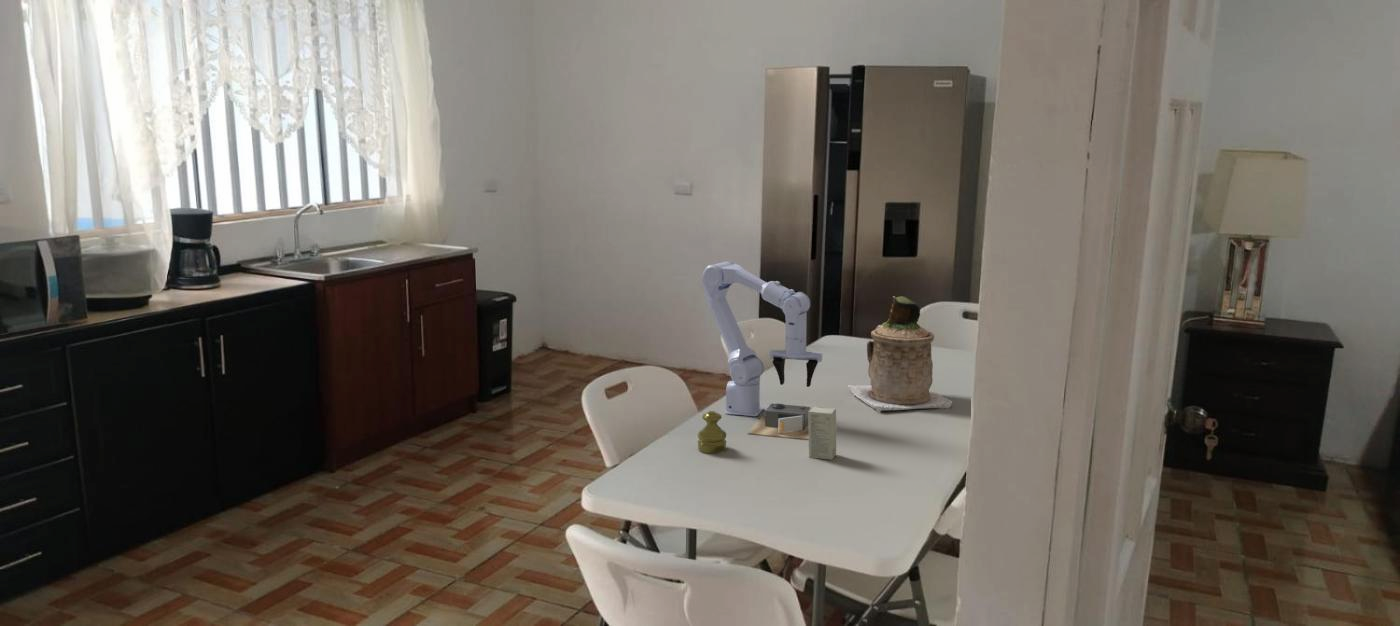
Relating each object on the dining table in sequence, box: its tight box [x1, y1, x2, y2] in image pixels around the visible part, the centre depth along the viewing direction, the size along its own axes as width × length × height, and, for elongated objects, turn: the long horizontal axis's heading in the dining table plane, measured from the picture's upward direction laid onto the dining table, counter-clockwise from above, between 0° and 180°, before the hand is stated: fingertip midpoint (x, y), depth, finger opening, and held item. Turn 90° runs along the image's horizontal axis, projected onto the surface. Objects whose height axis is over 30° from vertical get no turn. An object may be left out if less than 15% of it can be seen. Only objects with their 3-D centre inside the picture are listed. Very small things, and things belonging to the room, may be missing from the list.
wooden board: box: [747, 415, 809, 441], centre depth 265 cm, size 18×16×1 cm
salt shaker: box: [697, 410, 727, 454], centre depth 248 cm, size 7×7×10 cm
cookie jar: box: [847, 295, 953, 414], centre depth 287 cm, size 25×25×32 cm
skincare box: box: [808, 406, 837, 461], centre depth 242 cm, size 6×4×12 cm
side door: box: [778, 415, 804, 433], centre depth 260 cm, size 7×2×4 cm, turn 111°
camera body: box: [764, 403, 811, 430], centre depth 267 cm, size 11×7×5 cm, turn 71°
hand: (795, 384), depth 270 cm, fingers open, 7 cm apart
